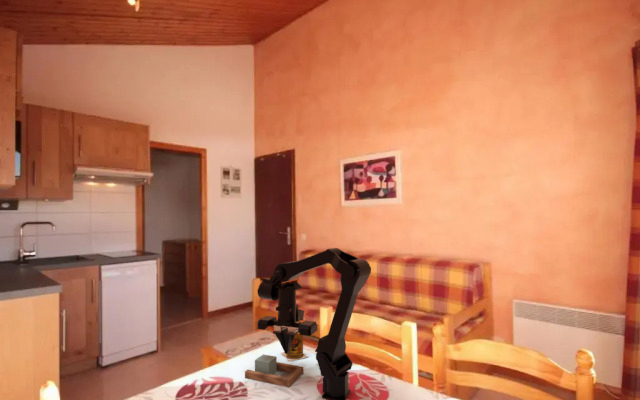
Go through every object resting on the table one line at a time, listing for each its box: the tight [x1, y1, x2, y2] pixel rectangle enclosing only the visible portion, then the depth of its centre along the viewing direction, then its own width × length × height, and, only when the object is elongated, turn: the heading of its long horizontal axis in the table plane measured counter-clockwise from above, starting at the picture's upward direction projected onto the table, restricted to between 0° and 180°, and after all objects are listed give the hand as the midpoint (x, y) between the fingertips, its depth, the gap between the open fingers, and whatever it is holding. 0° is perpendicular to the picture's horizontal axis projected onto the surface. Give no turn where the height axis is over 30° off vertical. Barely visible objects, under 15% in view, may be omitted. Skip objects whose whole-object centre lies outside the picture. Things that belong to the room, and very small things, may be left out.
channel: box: [244, 361, 305, 388], centre depth 111 cm, size 16×10×2 cm, turn 67°
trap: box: [279, 371, 292, 377], centre depth 109 cm, size 4×6×1 cm, turn 157°
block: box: [254, 354, 278, 375], centre depth 112 cm, size 5×5×5 cm
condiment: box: [280, 320, 309, 362], centre depth 127 cm, size 7×8×12 cm
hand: (286, 353), depth 109 cm, fingers closed
